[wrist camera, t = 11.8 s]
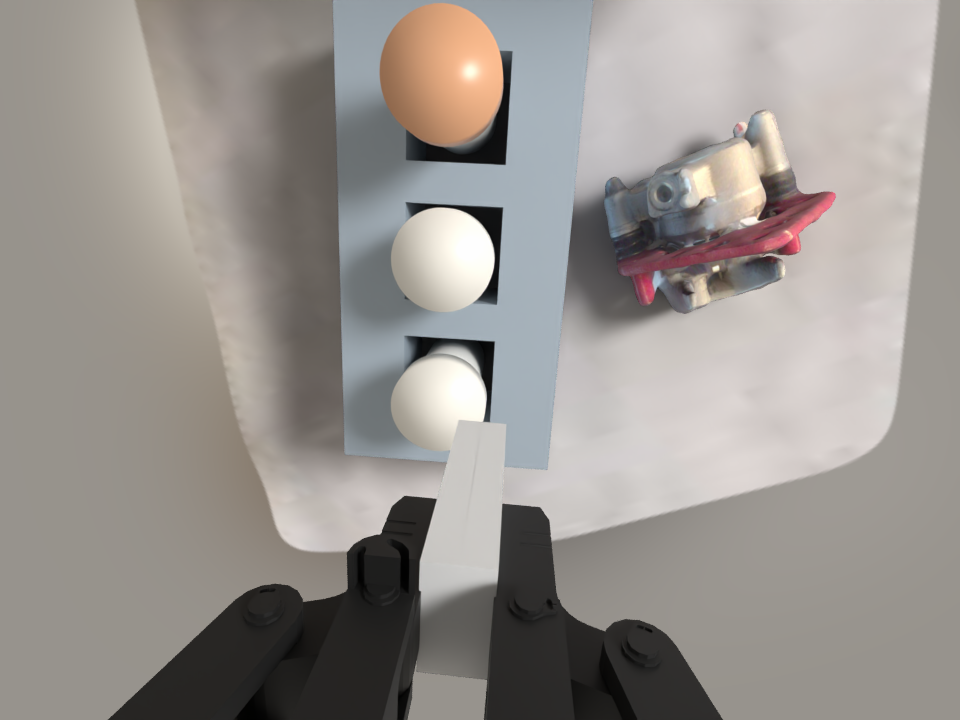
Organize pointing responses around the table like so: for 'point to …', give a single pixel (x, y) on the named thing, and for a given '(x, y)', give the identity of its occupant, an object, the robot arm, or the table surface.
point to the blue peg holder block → (474, 190)
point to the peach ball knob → (443, 77)
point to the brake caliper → (712, 219)
